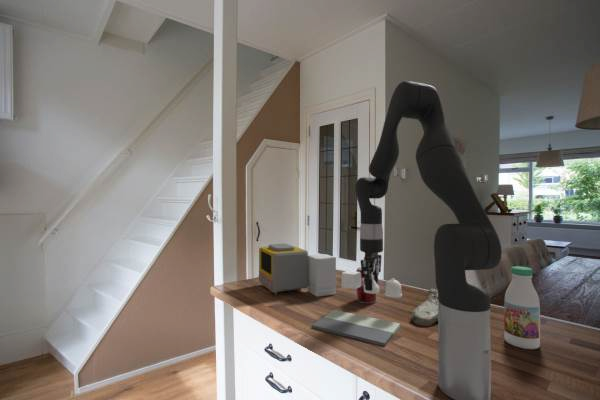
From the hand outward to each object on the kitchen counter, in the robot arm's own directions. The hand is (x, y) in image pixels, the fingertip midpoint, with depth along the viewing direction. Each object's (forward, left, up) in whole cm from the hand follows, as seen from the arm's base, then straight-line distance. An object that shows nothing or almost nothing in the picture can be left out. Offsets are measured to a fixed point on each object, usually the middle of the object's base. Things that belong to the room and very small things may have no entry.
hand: (371, 287), depth 104 cm
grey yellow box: (+42, -7, -9) cm, 44 cm away
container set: (0, 0, -1) cm, 1 cm away
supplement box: (+25, -11, -9) cm, 29 cm away
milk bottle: (-41, 0, -9) cm, 42 cm away
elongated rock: (-18, -16, -9) cm, 25 cm away
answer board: (0, +13, -9) cm, 16 cm away
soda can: (+6, -11, -9) cm, 16 cm away
